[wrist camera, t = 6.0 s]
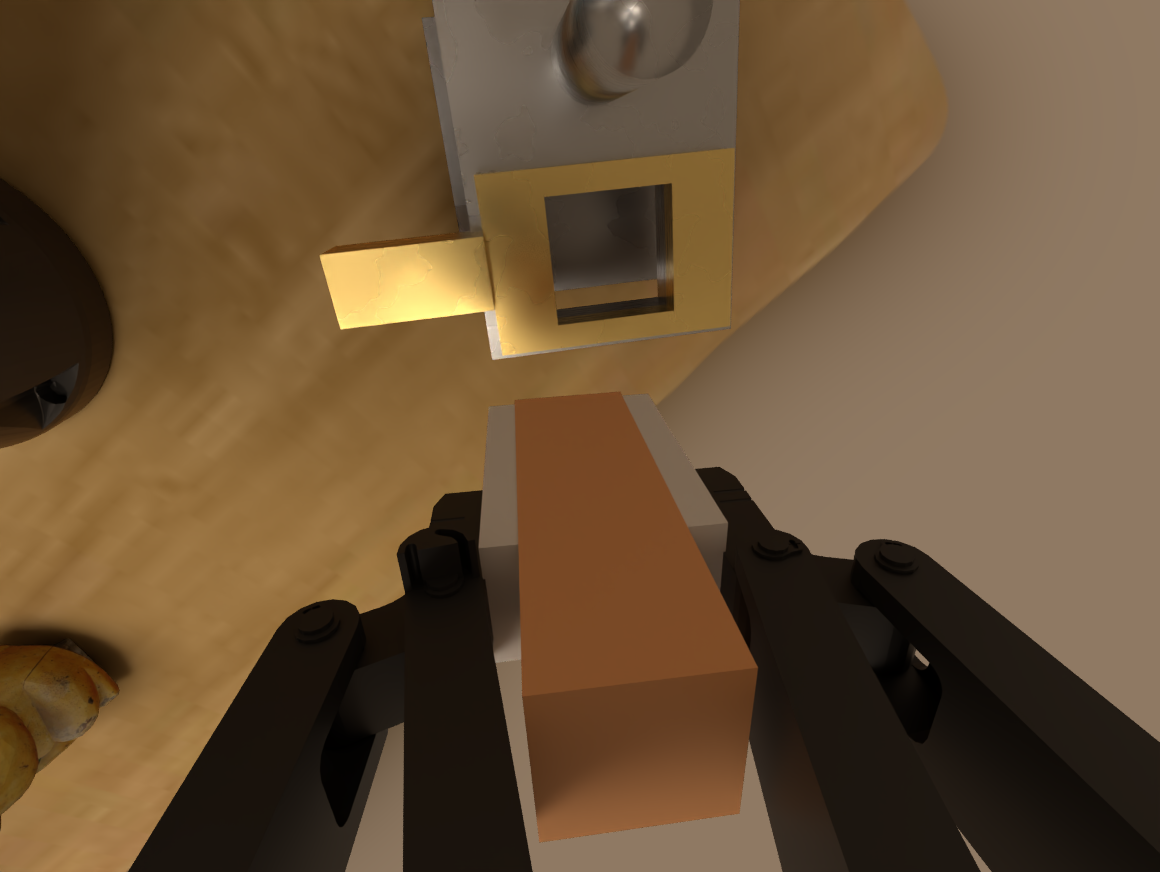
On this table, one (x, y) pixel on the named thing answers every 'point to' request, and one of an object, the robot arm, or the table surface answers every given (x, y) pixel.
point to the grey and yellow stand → (570, 174)
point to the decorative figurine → (44, 708)
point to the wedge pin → (620, 633)
